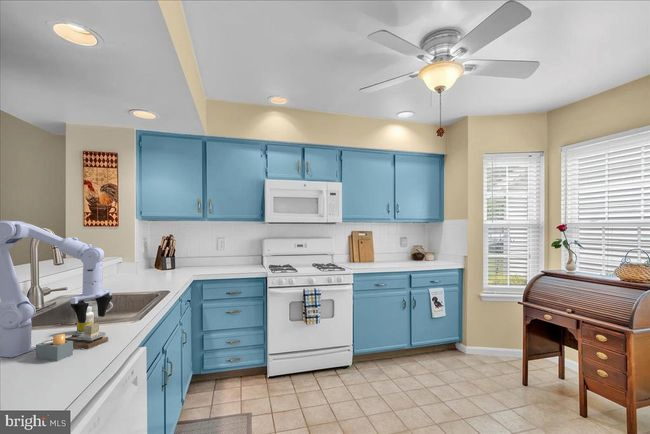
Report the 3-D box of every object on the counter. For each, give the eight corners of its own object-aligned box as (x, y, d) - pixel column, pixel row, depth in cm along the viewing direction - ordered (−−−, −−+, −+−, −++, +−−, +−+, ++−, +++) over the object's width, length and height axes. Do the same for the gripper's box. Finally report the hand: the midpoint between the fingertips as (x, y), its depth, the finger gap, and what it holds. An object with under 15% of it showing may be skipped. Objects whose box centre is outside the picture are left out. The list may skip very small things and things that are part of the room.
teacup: (69, 325, 137) (69, 306, 137) (81, 317, 148) (81, 300, 148) (106, 322, 141) (107, 303, 141) (115, 315, 151) (116, 298, 151)
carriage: (77, 339, 112) (77, 326, 113) (91, 334, 118) (91, 321, 118) (91, 340, 111) (91, 327, 111) (105, 335, 117) (105, 322, 117)
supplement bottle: (90, 333, 126) (90, 308, 127) (74, 334, 125) (74, 309, 125) (95, 329, 132) (96, 305, 132) (80, 330, 130) (80, 306, 130)
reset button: (50, 352, 102) (50, 336, 102) (59, 348, 105) (60, 333, 105) (58, 353, 102) (58, 337, 102) (67, 349, 104) (67, 334, 105)
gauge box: (35, 359, 102) (35, 343, 102) (51, 352, 107) (52, 337, 107) (57, 361, 100) (57, 345, 100) (72, 354, 105) (73, 339, 105)
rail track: (54, 346, 113) (55, 339, 113) (76, 338, 121) (76, 332, 121) (88, 349, 110) (88, 342, 110) (108, 341, 118) (108, 334, 118)
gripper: (82, 285, 107) (82, 326, 107) (118, 278, 121) (118, 314, 121) (65, 284, 109) (64, 325, 108) (103, 277, 123) (102, 313, 122)
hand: (92, 319), depth 115 cm, fingers open, 7 cm apart
